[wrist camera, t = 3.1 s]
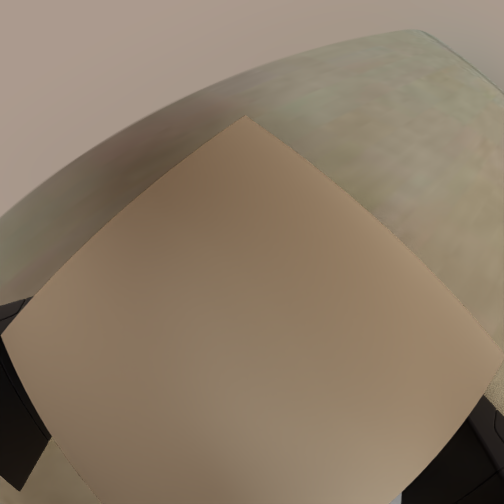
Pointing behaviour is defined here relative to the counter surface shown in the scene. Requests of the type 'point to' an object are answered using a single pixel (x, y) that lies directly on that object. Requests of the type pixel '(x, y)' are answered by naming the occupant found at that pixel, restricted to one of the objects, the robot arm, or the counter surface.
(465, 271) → the counter surface
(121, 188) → the counter surface
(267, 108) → the counter surface
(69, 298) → the birch block
